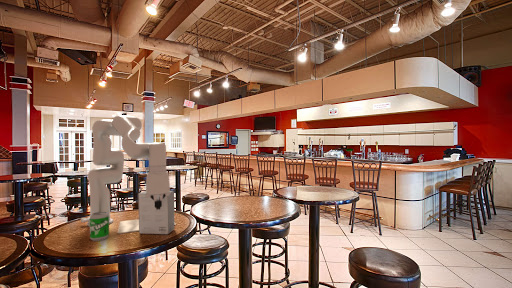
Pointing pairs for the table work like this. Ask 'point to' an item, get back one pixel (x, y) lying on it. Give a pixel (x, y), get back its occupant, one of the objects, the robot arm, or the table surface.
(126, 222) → the board
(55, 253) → the table surface
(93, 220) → the soda can
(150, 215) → the hard drive box
